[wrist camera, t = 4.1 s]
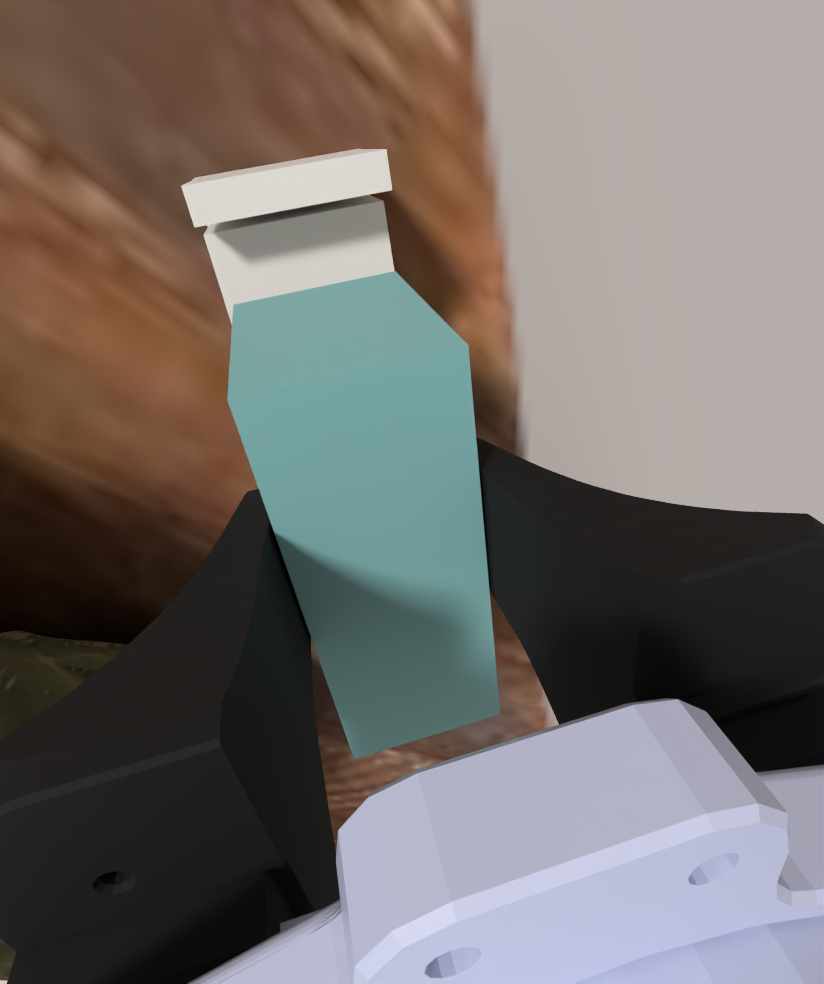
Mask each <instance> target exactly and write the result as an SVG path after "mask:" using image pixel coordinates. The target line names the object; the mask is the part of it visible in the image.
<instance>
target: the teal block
mask: <svg viewBox="0 0 824 984" xmlns="http://www.w3.org/2000/svg"><path fill="white" fill-rule="evenodd" d="M227 400H228V403H229V406H230V409H231V411H232V414H233V417H234V420H235V423H236V426H237V428H238V431H239V434H240V437H241V440H242V443H243V445H244V448H245V451H246V454H247V457H248V460H249V462H250V465H251V468H252V471H253V474H254V477H255V479H256V482H257V485H258V488H259V491H260V494H261V496H262V499H263V502H264V505H265V508H266V511H267V513H268V516H269V519H270V522H271V525H272V528H273V531H274V533H275V536H276V539H277V542H278V545H279V548H280V550H281V553H282V556H283V559H284V562H285V565H286V567H287V570H288V573H289V576H290V579H291V582H292V584H293V587H294V590H295V593H296V596H297V599H298V601H299V604H300V607H301V610H302V613H303V616H304V618H305V621H306V624H307V627H308V630H309V633H310V635H311V638H312V641H313V644H314V647H315V650H316V652H317V655H318V658H319V661H320V664H321V667H322V669H323V672H324V675H325V678H326V681H327V684H328V686H329V689H330V692H331V695H332V698H333V701H334V703H335V706H336V709H337V712H338V715H339V718H340V720H341V723H342V726H343V729H344V732H345V735H346V737H347V740H348V743H349V746H350V749H351V752H352V754H353V757H354V759H357V758H360V757H363V756H366V755H370V754H373V753H376V752H379V751H383V750H386V749H389V748H392V747H396V746H399V745H402V744H405V743H409V742H412V741H415V740H418V739H421V738H425V737H428V736H431V735H434V734H438V733H441V732H444V731H447V730H451V729H454V728H457V727H460V726H464V725H467V724H470V723H473V722H476V721H480V720H483V719H486V718H489V717H493V716H496V715H499V714H500V706H499V694H498V683H497V671H496V660H495V648H494V637H493V625H492V614H491V602H490V590H489V579H488V567H487V556H486V544H485V533H484V521H483V510H482V498H481V487H480V475H479V464H478V452H477V441H476V429H475V418H474V406H473V395H472V383H471V372H470V360H469V349H468V344H467V343H466V342H465V341H464V340H463V339H462V338H461V337H460V336H459V335H458V334H457V333H456V332H455V331H454V330H453V329H452V328H451V327H450V326H449V325H448V324H447V323H446V322H445V321H444V320H443V319H442V318H441V317H440V316H439V315H438V314H437V313H436V312H435V311H434V310H433V309H432V308H431V307H430V306H429V305H428V304H427V303H426V302H425V301H424V300H423V299H422V298H421V297H420V296H419V295H418V294H417V293H416V292H415V291H414V290H413V289H412V288H411V287H410V286H409V285H408V284H407V282H406V281H405V280H404V279H403V278H402V277H401V276H400V275H399V274H398V273H397V272H396V271H393V272H388V273H383V274H379V275H374V276H369V277H364V278H359V279H355V280H350V281H345V282H340V283H335V284H330V285H326V286H321V287H316V288H311V289H306V290H302V291H297V292H292V293H287V294H282V295H278V296H273V297H268V298H263V299H258V300H253V301H249V302H244V303H239V304H234V305H233V319H232V335H231V350H230V366H229V382H228V398H227Z"/></svg>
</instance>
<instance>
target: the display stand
mask: <svg viewBox="0 0 824 984" xmlns="http://www.w3.org/2000/svg"><path fill="white" fill-rule="evenodd" d="M181 187H182V190H183V193H184V196H185V199H186V202H187V205H188V208H189V212H190V215H191V218H192V221H193V224H194V227H199V226H204V225H207V226H208V228H207V230H206V232H205V233H204V238H205V241H206V244H207V247H208V251H209V254H210V257H211V260H212V263H213V266H214V270H215V273H216V276H217V279H218V282H219V286H220V289H221V292H222V295H223V298H224V301H225V305H226V308H227V311H228V314H229V317H230V320H231V324H232V319H233V305H234V304H239V303H244V302H249V301H253V300H258V299H263V298H268V297H273V296H278V295H282V294H287V293H292V292H297V291H302V290H306V289H311V288H316V287H321V286H326V285H330V284H335V283H340V282H345V281H350V280H355V279H359V278H364V277H369V276H374V275H379V274H383V273H388V272H393V271H394V265H393V259H392V252H391V246H390V239H389V233H388V226H387V220H386V213H385V207H384V201H383V200H380V199H378V198H375V197H373V196H370V194H375V193H380V192H386V191H391V190H392V185H391V178H390V172H389V165H388V158H387V151H386V149H354V150H348V151H342V152H337V153H331V154H325V155H320V156H314V157H309V158H303V159H297V160H292V161H286V162H280V163H275V164H269V165H263V166H258V167H252V168H247V169H241V170H235V171H230V172H224V173H218V174H213V175H207V176H201V177H196V178H194V179H193V180H192V181H190V182H188V183H186V184H184V185H182V186H181Z"/></svg>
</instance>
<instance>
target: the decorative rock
mask: <svg viewBox="0 0 824 984" xmlns="http://www.w3.org/2000/svg"><path fill="white" fill-rule="evenodd" d="M126 646H127V645H126V644H119V643H109V642H99V641H84V640H70V639H60V638H52V637H45V636H40V635H36V634H32V633H28V632H25V631H10V632H3V633H0V740H1V739H3V738H4V737H6V736H7V735H9V734H10V733H12V732H13V731H15V730H16V729H18V728H19V727H21V726H22V725H24V724H25V723H27V722H28V721H30V720H31V719H33V718H34V717H35V716H37V715H38V714H40V713H41V712H43V711H44V710H46V709H47V708H49V707H50V706H52V705H53V704H55V703H56V702H57V701H59V700H60V699H62V698H63V697H64V696H66V695H67V694H68V693H70V692H71V691H72V690H74V689H75V688H76V687H78V686H79V685H80V684H82V683H83V682H84V681H85V680H87V679H88V678H89V677H91V676H92V675H93V674H95V673H96V672H97V671H98V670H99V669H101V668H102V667H103V666H104V665H105V664H107V663H108V662H109V661H110V660H112V659H113V658H114V657H115V656H116V655H117V654H119V653H120V652H121V651H122V650H123V649H124V648H125V647H126ZM15 955H16V951H15V950H14V949H13V948H12V947H10V946H9V945H8V944H7V943H5V942H4V941H3V940H2V939H0V980H8V978H9V975H10V972H11V968H12V965H13V961H14V958H15Z"/></svg>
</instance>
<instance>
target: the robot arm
mask: <svg viewBox="0 0 824 984" xmlns="http://www.w3.org/2000/svg"><path fill="white" fill-rule="evenodd" d="M476 441H477V452H478V464H479V475H480V487H481V498H482V510H483V521H484V533H485V544H486V556H487V567H488V579H489V590H490V591H491V593H492V595H493V596H494V598H495V600H496V601H497V603H498V605H499V606H500V608H501V610H502V611H503V613H504V614H505V616H506V618H507V619H508V621H509V623H510V624H511V626H512V628H513V629H514V631H515V633H516V634H517V636H518V638H519V640H520V642H521V643H522V645H523V647H524V649H525V651H526V653H527V655H528V657H529V659H530V661H531V663H532V666H533V668H534V670H535V672H536V674H537V676H538V678H539V681H540V683H541V685H542V687H543V689H544V691H545V694H546V696H547V698H548V700H549V703H550V705H551V707H552V709H553V712H554V714H555V716H556V718H557V721H558V723H559V725H557V726H554V727H550V728H547V729H544V730H541V731H538V732H535V733H531V734H528V735H525V736H522V737H519V738H516V739H512V740H509V741H506V742H503V743H500V744H497V745H493V746H490V747H487V748H484V749H481V750H478V751H474V752H471V753H468V754H465V755H462V756H459V757H455V758H452V759H449V760H446V761H443V762H440V763H436V764H433V765H430V766H427V767H424V768H421V769H417V770H415V771H413V772H411V773H409V774H407V775H405V776H403V777H401V778H399V779H397V780H395V781H393V782H391V783H389V784H387V785H385V786H383V787H381V788H379V789H377V790H375V791H373V792H372V793H371V794H370V795H369V796H368V797H367V799H366V800H365V801H364V802H363V803H362V804H361V805H360V806H359V807H358V808H357V809H356V811H355V812H354V813H353V814H352V815H351V816H350V817H349V818H348V819H347V820H346V822H345V823H344V824H343V825H342V827H341V828H340V829H339V830H338V839H337V852H336V850H335V844H334V838H333V832H332V826H331V820H330V814H329V808H328V802H327V795H326V789H325V783H324V776H323V770H322V763H321V757H320V750H319V743H318V736H317V729H316V722H315V715H314V704H313V690H312V663H311V635H310V633H309V630H308V627H307V624H306V621H305V618H304V616H303V613H302V610H301V607H300V604H299V601H298V599H297V596H296V593H295V590H294V587H293V584H292V582H291V579H290V576H289V573H288V570H287V567H286V565H285V562H284V559H283V556H282V553H281V550H280V548H279V545H278V542H277V539H276V536H275V533H274V531H273V528H272V525H271V522H270V519H269V516H268V513H267V511H266V508H265V505H264V502H263V499H262V496H261V494H260V491H259V489H256V490H252V491H248V492H247V493H246V494H245V496H244V497H243V499H242V501H241V502H240V504H239V506H238V507H237V509H236V511H235V512H234V514H233V516H232V518H231V519H230V521H229V523H228V524H227V526H226V528H225V530H224V531H223V533H222V534H221V536H220V538H219V539H218V541H217V542H216V544H215V545H214V547H213V549H212V550H211V552H210V553H209V555H208V556H207V557H206V559H205V560H204V561H203V563H202V564H201V566H200V567H199V568H198V570H197V571H196V573H195V574H194V575H193V577H192V578H191V579H190V581H189V582H188V583H187V584H186V586H185V587H184V588H183V589H182V590H181V592H180V593H179V594H178V595H177V596H176V597H175V598H174V600H173V601H172V602H171V603H170V604H169V605H168V606H167V607H166V608H165V609H164V610H163V612H162V613H161V614H160V615H159V616H158V617H157V618H156V619H155V620H154V621H153V622H152V623H151V624H150V625H149V626H148V627H146V628H145V629H144V630H143V631H142V632H141V633H140V634H139V635H138V636H137V637H136V638H135V639H134V640H133V641H132V642H130V643H129V644H128V645H127V646H126V647H125V648H124V649H123V650H122V651H121V652H120V653H119V654H117V655H116V656H115V657H114V658H113V659H112V660H110V661H109V662H108V663H107V664H105V665H104V666H103V667H102V668H101V669H99V670H98V671H97V672H96V673H95V674H93V675H92V676H91V677H89V678H88V679H87V680H85V681H84V682H83V683H82V684H80V685H79V686H78V687H76V688H75V689H74V690H72V691H71V692H70V693H68V694H67V695H66V696H64V697H63V698H62V699H60V700H59V701H57V702H56V703H55V704H53V705H52V706H50V707H49V708H47V709H46V710H44V711H43V712H41V713H40V714H38V715H37V716H35V717H34V718H33V719H31V720H30V721H28V722H27V723H25V724H24V725H22V726H21V727H19V728H18V729H16V730H15V731H13V732H12V733H10V734H9V735H7V736H6V737H4V738H3V739H1V740H0V939H2V940H3V941H4V942H5V943H7V944H8V945H9V946H10V947H12V948H13V949H14V950H15V951H16V955H15V958H14V961H13V965H12V968H11V972H10V975H9V978H8V982H7V984H824V524H822V523H821V522H819V521H818V520H816V519H815V518H813V517H812V516H810V515H808V514H799V513H769V512H742V511H730V510H720V509H710V508H700V507H692V506H685V505H677V504H671V503H665V502H659V501H655V500H649V499H644V498H639V497H634V496H630V495H625V494H621V493H617V492H613V491H610V490H606V489H602V488H599V487H595V486H592V485H589V484H585V483H582V482H579V481H576V480H574V479H571V478H568V477H566V476H563V475H560V474H558V473H555V472H552V471H550V470H547V469H545V468H542V467H540V466H538V465H535V464H533V463H531V462H529V461H526V460H524V459H522V458H520V457H518V456H515V455H513V454H511V453H509V452H507V451H505V450H503V449H501V448H498V447H496V446H494V445H492V444H490V443H488V442H486V441H484V440H481V439H479V438H476Z"/></svg>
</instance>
